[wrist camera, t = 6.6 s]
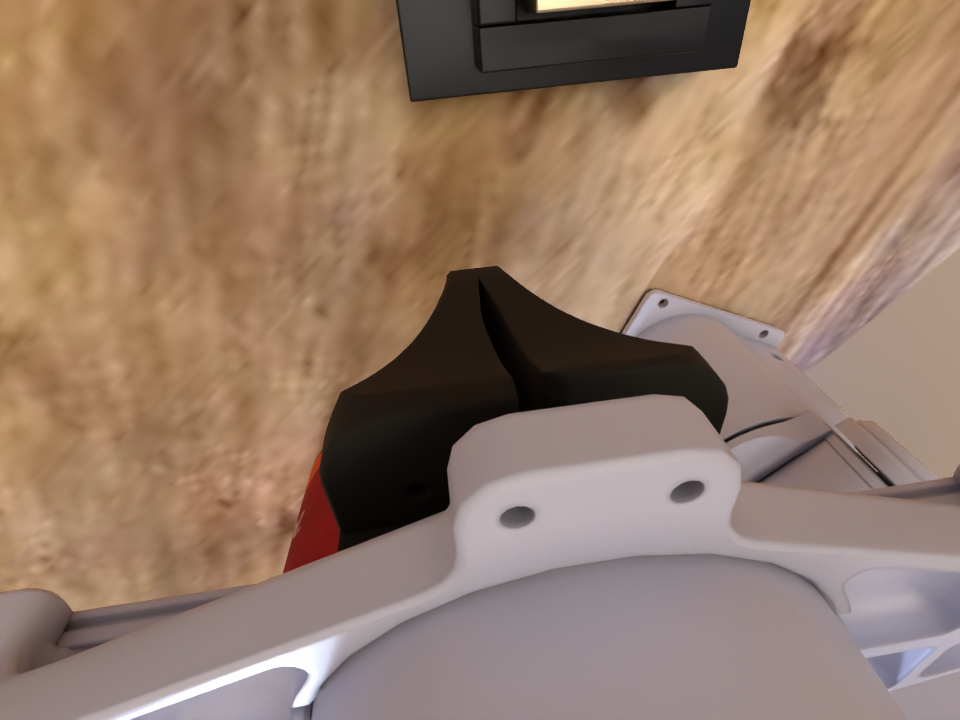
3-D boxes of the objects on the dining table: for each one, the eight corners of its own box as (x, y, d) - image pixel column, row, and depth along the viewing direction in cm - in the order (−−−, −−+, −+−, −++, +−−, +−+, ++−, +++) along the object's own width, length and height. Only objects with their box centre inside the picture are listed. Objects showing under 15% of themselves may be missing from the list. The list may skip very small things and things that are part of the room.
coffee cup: (263, 466, 30) (170, 784, 18) (369, 400, 28) (345, 706, 16) (358, 528, 34) (334, 812, 22) (454, 475, 32) (485, 755, 20)
